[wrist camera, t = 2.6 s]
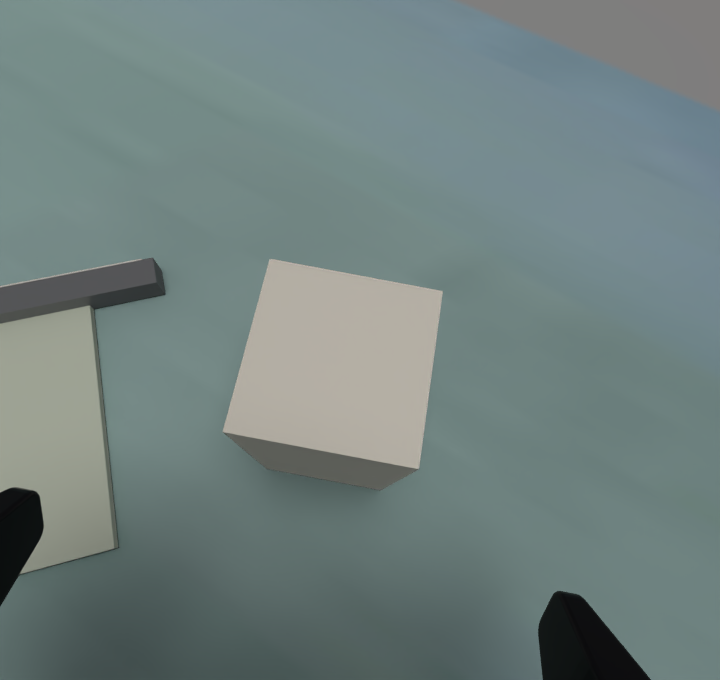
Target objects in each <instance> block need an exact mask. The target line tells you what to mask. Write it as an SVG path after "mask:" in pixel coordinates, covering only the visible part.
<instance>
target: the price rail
mask: <svg viewBox="0 0 720 680" xmlns="http://www.w3.org/2000/svg"><path fill="white" fill-rule="evenodd" d="M160 295H165V289H164V283H163V276H162V270H161V269H160V268H159V266H158V265H157V263H156V262H155V260H154V259H153V258H149V259H143V260H142V259H137V260H132V261H127V262H122V263H117V264H112V265H107V266H101V267H96V268H91V269H86V270H81V271H76V272H71V273H65V274H60V275H55V276H50V277H45V278H40V279H35V280H29V281H24V282H19V283H14V284H9V285H4V286H0V324H1V323H6V322H11V321H16V320H21V319H26V318H30V317H35V316H40V315H45V314H50V313H55V312H60V311H65V310H70V309H75V308H79V307H84V306H89V305H90V306H91V307H92V308H93V309H97V308H101V307H106V306H111V305H116V304H121V303H126V302H131V301H136V300H140V299H145V298H150V297H155V296H160Z"/></svg>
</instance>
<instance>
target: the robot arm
mask: <svg viewBox="0 0 720 680" xmlns="http://www.w3.org/2000/svg"><path fill="white" fill-rule="evenodd" d="M43 529H44V521H43V514H42V507H41V500H40V495H39V494H38V493H37V492H36V491H34V490H29V489H24V488H19V487H12V488H9V489H6V490H4V491H2V492H0V606H1V604H2V603H3V601H4V599H5V598H6V596H7V594H8V593H9V591H10V589H11V588H12V586H13V584H14V583H15V581H16V579H17V578H18V576H19V574H20V572H21V571H22V569H23V567H24V566H25V564H26V562H27V561H28V559H29V557H30V556H31V554H32V552H33V551H34V549H35V547H36V546H37V544H38V542H39V540H40V538H41V536H42V533H43ZM538 636H539V646H540V656H541V666H542V676H543V680H651V679H650V678H649V677H648V676H647V674H646V673H645V672H644V671H643V669H642V668H641V667H640V666H639V665H638V663H637V662H636V661H635V660H634V659H633V657H632V656H631V655H630V654H629V653H628V651H627V650H626V649H625V648H624V646H623V645H622V644H621V643H620V642H619V640H618V639H617V638H616V637H615V636H614V634H613V633H612V632H611V631H610V630H609V628H608V627H607V626H606V625H605V623H604V622H603V621H602V620H601V619H600V617H599V616H598V615H597V614H596V613H595V611H594V610H593V609H592V608H591V606H590V605H589V604H588V603H587V602H586V600H585V599H584V598H582V597H581V596H580V595H577V594H573V593H568V592H563V591H557V592H555V593H554V594H553V596H552V597H551V599H550V601H549V603H548V605H547V607H546V609H545V611H544V613H543V615H542V617H541V620H540V623H539V629H538Z"/></svg>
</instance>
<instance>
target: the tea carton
mask: <svg viewBox="0 0 720 680" xmlns="http://www.w3.org/2000/svg"><path fill="white" fill-rule="evenodd" d="M442 293H443V291H439V290H433V289H428V288H423V287H417V286H412V285H407V284H401V283H396V282H391V281H385V280H380V279H375V278H370V277H364V276H359V275H354V274H348V273H343V272H338V271H332V270H327V269H322V268H316V267H311V266H306V265H301V264H295V263H290V262H285V261H279V260H274V259H270V260H269V264H268V267H267V271H266V275H265V278H264V282H263V286H262V289H261V293H260V297H259V300H258V304H257V308H256V311H255V315H254V319H253V323H252V326H251V330H250V334H249V337H248V341H247V345H246V348H245V352H244V356H243V359H242V363H241V367H240V370H239V374H238V378H237V381H236V385H235V389H234V392H233V396H232V400H231V403H230V407H229V411H228V414H227V418H226V422H225V425H224V429H223V433H224V434H226V435H227V436H228V437H229V438H230V439H232V440H233V441H234V442H235V443H236V444H238V445H239V446H240V447H241V448H242V449H244V450H245V451H246V452H247V453H248V454H250V455H251V456H252V457H253V458H254V459H256V460H257V461H258V462H259V463H260V464H262V465H263V466H264V467H265V468H266V469H270V470H275V471H281V472H286V473H291V474H296V475H302V476H307V477H312V478H317V479H323V480H328V481H333V482H339V483H344V484H349V485H354V486H360V487H365V488H370V489H375V490H382V489H384V488H386V487H387V486H389V485H391V484H393V483H395V482H396V481H398V480H400V479H402V478H404V477H406V476H407V475H409V474H411V473H413V472H415V471H416V470H418V469H419V464H420V457H421V449H422V442H423V434H424V427H425V420H426V412H427V405H428V397H429V390H430V382H431V375H432V367H433V360H434V352H435V345H436V337H437V330H438V322H439V315H440V307H441V300H442Z"/></svg>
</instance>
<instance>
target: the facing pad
mask: <svg viewBox="0 0 720 680" xmlns="http://www.w3.org/2000/svg"><path fill="white" fill-rule="evenodd" d="M12 487H19V488H24V489H29V490H34V491H36V492H37V493H38V494H39V495H40V500H41V507H42V514H43V521H44V529H43V533H42V536H41V538H40V540H39V542H38V544H37V546H36V547H35V549H34V551H33V552H32V554H31V556H30V557H29V559H28V561H27V562H26V564H25V566H24V567H23V569H22V571H21V572H20V574H24V573H27V572H31V571H35V570H38V569H42V568H46V567H49V566H53V565H57V564H61V563H64V562H68V561H72V560H75V559H79V558H83V557H86V556H90V555H94V554H97V553H101V552H105V551H108V550H112V549H116V548H118V538H117V528H116V519H115V509H114V499H113V490H112V480H111V470H110V461H109V451H108V441H107V432H106V422H105V412H104V403H103V393H102V383H101V373H100V364H99V354H98V344H97V335H96V325H95V315H94V309H93V308H92V307H91V306H90V305H89V306H84V307H79V308H75V309H70V310H65V311H60V312H55V313H50V314H45V315H40V316H35V317H30V318H26V319H21V320H16V321H11V322H6V323H1V324H0V492H2V491H4V490H6V489H9V488H12ZM20 574H19V575H20Z"/></svg>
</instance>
